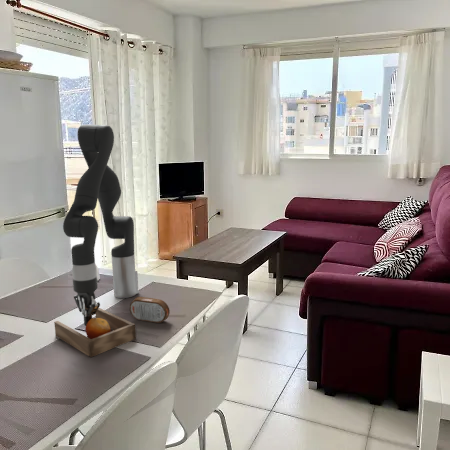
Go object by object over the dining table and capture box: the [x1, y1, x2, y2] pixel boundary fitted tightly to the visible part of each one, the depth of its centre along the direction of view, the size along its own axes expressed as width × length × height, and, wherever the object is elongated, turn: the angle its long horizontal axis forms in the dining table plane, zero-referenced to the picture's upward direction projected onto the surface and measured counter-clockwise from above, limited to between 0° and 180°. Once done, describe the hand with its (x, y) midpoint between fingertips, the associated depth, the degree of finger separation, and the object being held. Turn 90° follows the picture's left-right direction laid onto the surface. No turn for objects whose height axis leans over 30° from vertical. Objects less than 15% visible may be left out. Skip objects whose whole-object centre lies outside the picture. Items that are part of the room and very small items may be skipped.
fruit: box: [85, 317, 112, 339], centre depth 141 cm, size 8×8×8 cm
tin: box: [129, 296, 171, 324], centre depth 154 cm, size 15×3×8 cm, turn 71°
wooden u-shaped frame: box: [54, 307, 137, 358], centre depth 142 cm, size 16×22×5 cm
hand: (88, 325), depth 144 cm, fingers closed
